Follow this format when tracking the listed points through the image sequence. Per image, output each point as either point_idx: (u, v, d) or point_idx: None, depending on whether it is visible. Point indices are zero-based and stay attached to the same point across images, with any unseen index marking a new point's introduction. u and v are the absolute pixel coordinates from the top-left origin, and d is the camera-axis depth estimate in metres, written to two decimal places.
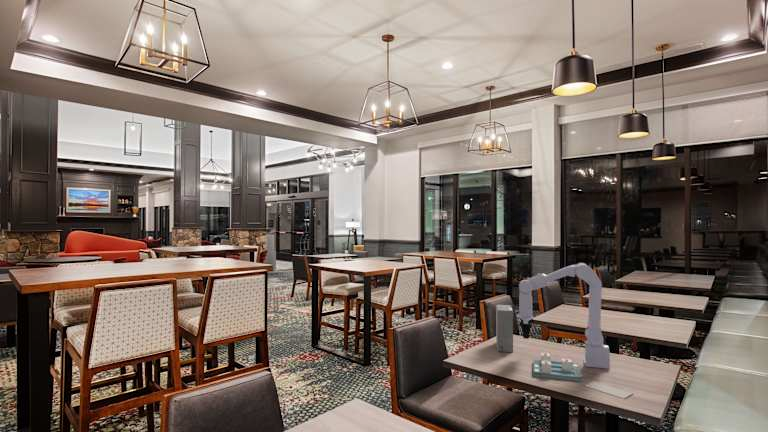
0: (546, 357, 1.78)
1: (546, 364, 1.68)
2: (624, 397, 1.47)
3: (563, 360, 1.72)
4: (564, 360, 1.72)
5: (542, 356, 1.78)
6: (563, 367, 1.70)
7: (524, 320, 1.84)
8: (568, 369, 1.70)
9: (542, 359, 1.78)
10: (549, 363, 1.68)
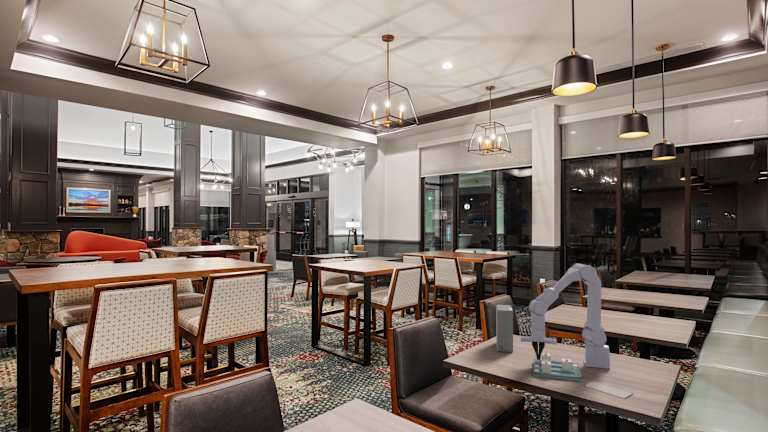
0: (546, 357, 1.78)
1: (546, 364, 1.68)
2: (624, 397, 1.47)
3: (563, 360, 1.72)
4: (564, 360, 1.72)
5: (542, 356, 1.78)
6: (563, 367, 1.70)
7: None
8: (568, 369, 1.70)
9: (542, 359, 1.78)
10: (549, 363, 1.68)
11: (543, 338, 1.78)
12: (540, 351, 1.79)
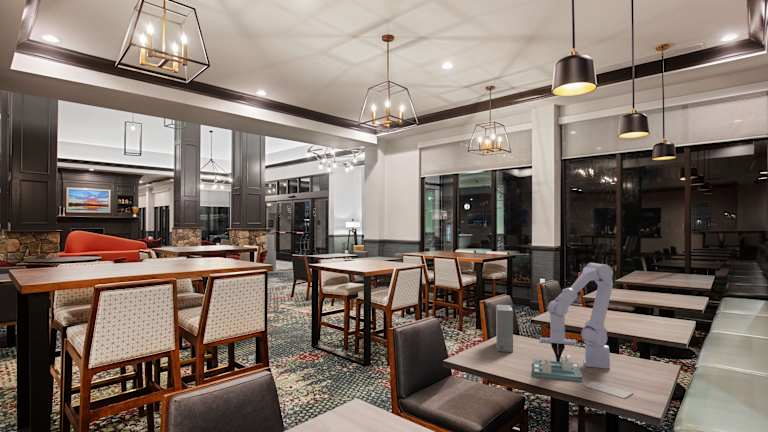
0: None
1: (546, 364, 1.68)
2: (624, 397, 1.47)
3: (563, 360, 1.72)
4: (564, 360, 1.72)
5: (562, 358, 1.76)
6: (563, 367, 1.70)
7: None
8: (568, 369, 1.70)
9: None
10: (549, 363, 1.68)
11: (563, 340, 1.75)
12: (560, 353, 1.76)
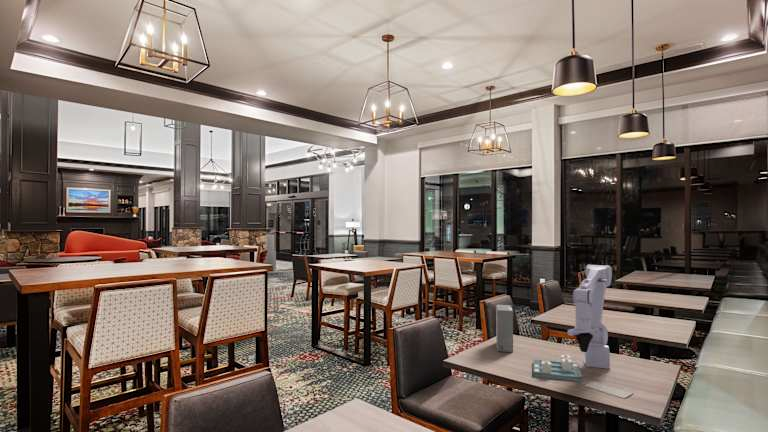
0: None
1: (546, 364, 1.68)
2: (624, 397, 1.47)
3: (563, 360, 1.72)
4: (564, 360, 1.72)
5: (562, 358, 1.76)
6: (563, 367, 1.70)
7: (568, 331, 1.68)
8: (568, 369, 1.70)
9: None
10: (549, 363, 1.68)
11: (591, 328, 1.69)
12: (588, 342, 1.68)
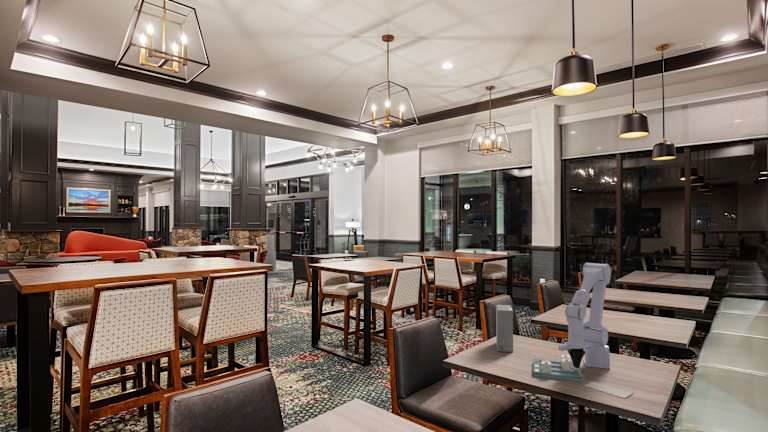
0: None
1: (546, 364, 1.68)
2: (624, 397, 1.47)
3: (563, 360, 1.72)
4: (564, 360, 1.72)
5: (562, 358, 1.76)
6: (563, 367, 1.70)
7: (559, 346, 1.70)
8: (568, 369, 1.70)
9: None
10: (549, 363, 1.68)
11: (583, 344, 1.69)
12: (580, 358, 1.69)
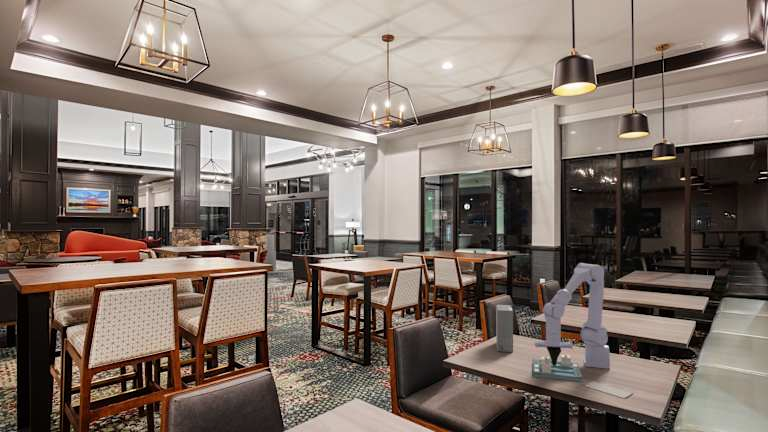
0: (566, 359, 1.75)
1: (546, 364, 1.68)
2: (624, 397, 1.47)
3: (542, 358, 1.74)
4: (543, 358, 1.74)
5: (562, 358, 1.76)
6: None
7: (535, 342, 1.75)
8: None
9: (562, 361, 1.76)
10: (549, 363, 1.68)
11: (559, 343, 1.71)
12: (556, 356, 1.71)
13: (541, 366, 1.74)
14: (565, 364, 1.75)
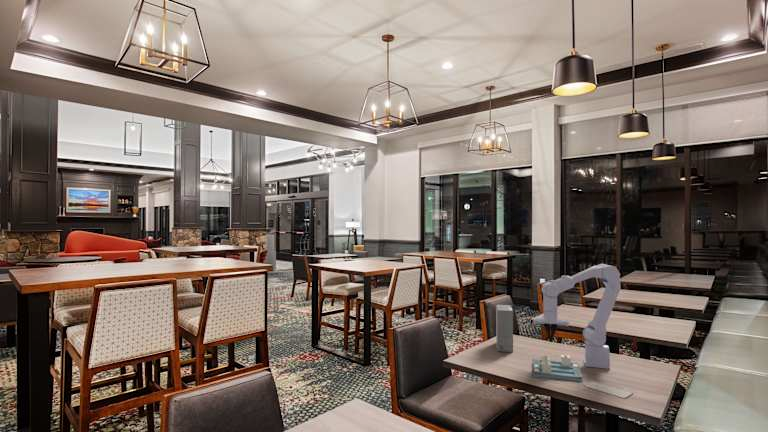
0: (566, 359, 1.75)
1: (546, 364, 1.68)
2: (625, 397, 1.47)
3: (542, 358, 1.74)
4: (543, 358, 1.74)
5: (562, 358, 1.76)
6: None
7: (533, 320, 1.85)
8: None
9: (562, 361, 1.76)
10: (549, 363, 1.68)
11: (555, 320, 1.80)
12: (552, 333, 1.80)
13: None
14: (565, 364, 1.75)
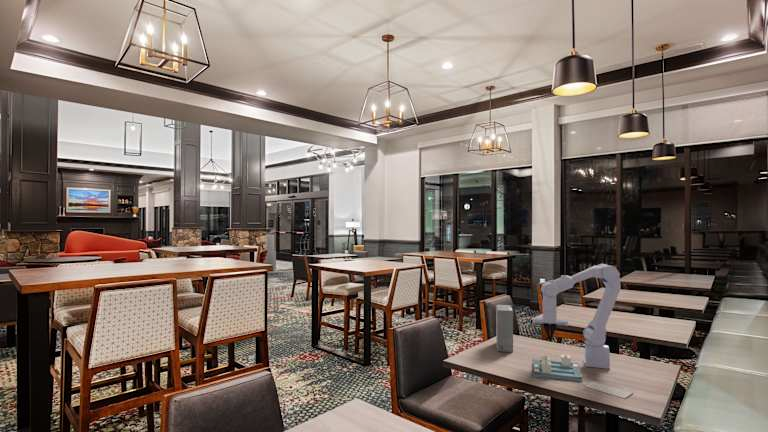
0: (566, 359, 1.75)
1: (546, 364, 1.68)
2: (625, 397, 1.47)
3: (542, 358, 1.74)
4: (543, 358, 1.74)
5: (562, 358, 1.76)
6: None
7: (532, 319, 1.86)
8: None
9: (562, 361, 1.76)
10: (549, 363, 1.68)
11: (555, 320, 1.81)
12: (552, 332, 1.81)
13: None
14: (565, 364, 1.75)
